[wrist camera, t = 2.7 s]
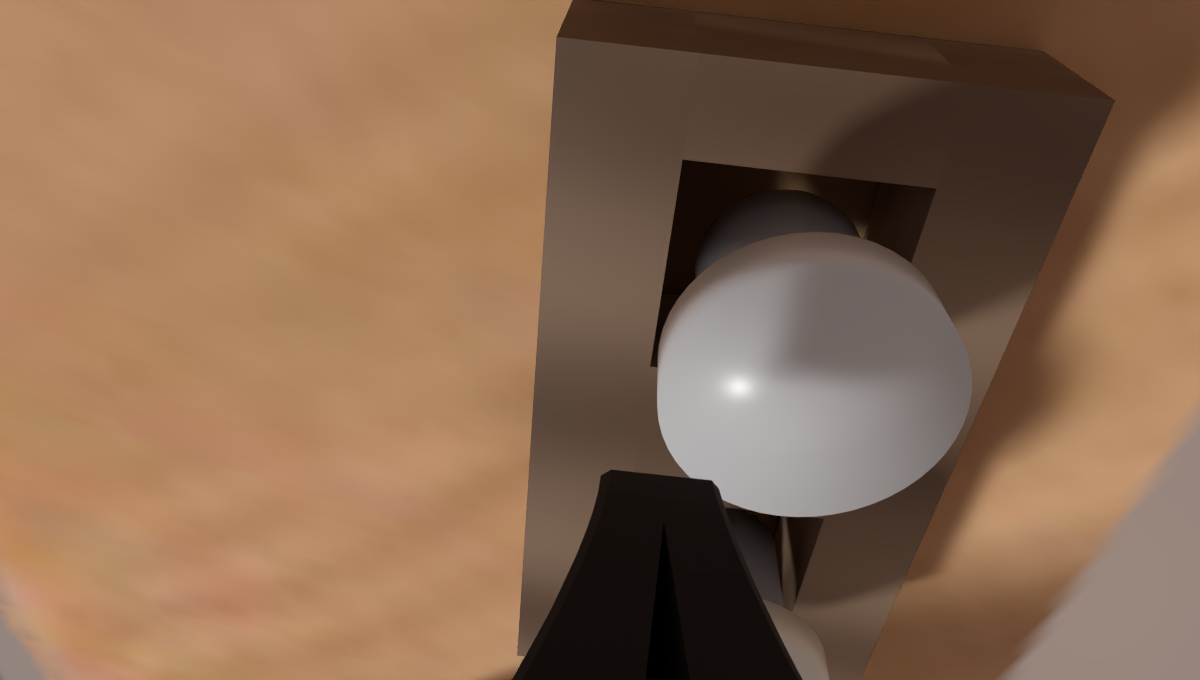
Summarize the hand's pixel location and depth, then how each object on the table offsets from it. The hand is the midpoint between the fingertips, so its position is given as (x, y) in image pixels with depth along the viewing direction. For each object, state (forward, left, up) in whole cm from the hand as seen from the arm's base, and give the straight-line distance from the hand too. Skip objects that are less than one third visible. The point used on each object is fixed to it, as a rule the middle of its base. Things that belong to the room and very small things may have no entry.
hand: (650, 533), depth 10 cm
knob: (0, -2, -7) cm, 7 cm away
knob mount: (-4, -2, -9) cm, 10 cm away
